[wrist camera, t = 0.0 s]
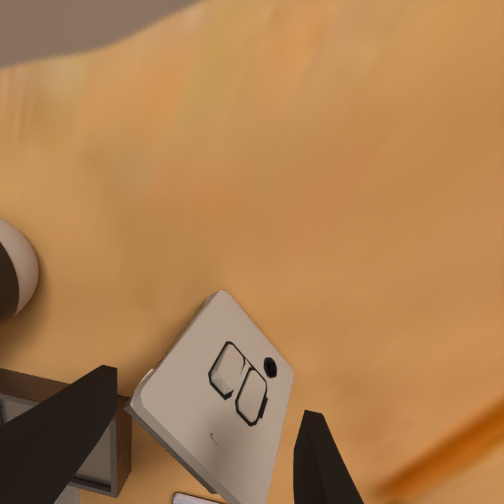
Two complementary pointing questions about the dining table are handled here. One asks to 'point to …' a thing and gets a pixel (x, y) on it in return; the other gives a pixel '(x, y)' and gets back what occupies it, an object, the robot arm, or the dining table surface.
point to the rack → (106, 450)
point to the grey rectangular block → (69, 496)
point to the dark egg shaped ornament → (15, 272)
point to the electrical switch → (219, 402)
